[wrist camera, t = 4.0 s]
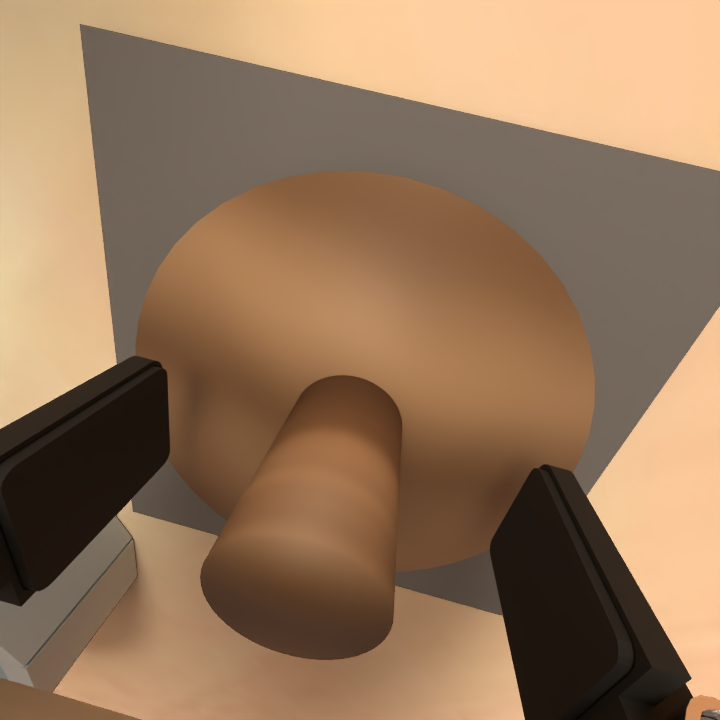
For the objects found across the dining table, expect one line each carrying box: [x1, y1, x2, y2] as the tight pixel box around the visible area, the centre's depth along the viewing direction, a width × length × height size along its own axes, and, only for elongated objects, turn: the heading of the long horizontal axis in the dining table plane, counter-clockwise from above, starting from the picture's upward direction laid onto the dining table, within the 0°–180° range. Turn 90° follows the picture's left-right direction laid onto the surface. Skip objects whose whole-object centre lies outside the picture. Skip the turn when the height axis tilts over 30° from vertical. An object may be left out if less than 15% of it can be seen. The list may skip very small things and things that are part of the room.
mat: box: [80, 24, 720, 615], centre depth 11 cm, size 16×16×1 cm
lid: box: [135, 171, 595, 660], centre depth 8 cm, size 13×13×6 cm
